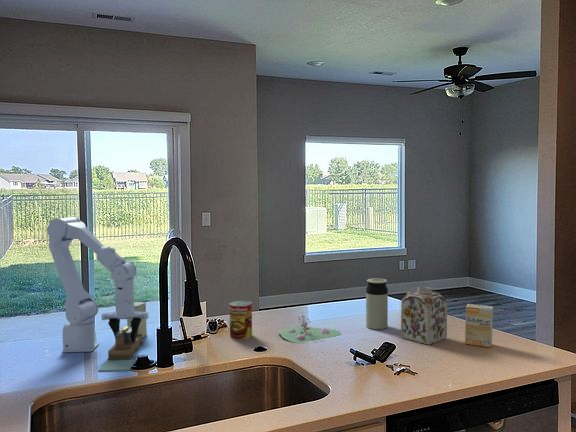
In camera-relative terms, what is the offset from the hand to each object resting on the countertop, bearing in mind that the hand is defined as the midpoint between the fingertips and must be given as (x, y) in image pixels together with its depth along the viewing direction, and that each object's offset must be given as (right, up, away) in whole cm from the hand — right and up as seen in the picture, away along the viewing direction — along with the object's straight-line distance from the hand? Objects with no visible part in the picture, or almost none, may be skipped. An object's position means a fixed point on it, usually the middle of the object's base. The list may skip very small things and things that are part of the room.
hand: (125, 340), depth 161 cm
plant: (+62, -3, +17) cm, 64 cm away
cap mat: (+2, -4, -13) cm, 14 cm away
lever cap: (0, 0, 0) cm, 0 cm away
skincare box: (-1, -3, +15) cm, 15 cm away
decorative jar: (+100, -2, +12) cm, 101 cm away
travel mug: (+87, -2, +26) cm, 90 cm away
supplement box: (+117, -3, +5) cm, 117 cm away
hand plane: (0, -3, 0) cm, 3 cm away
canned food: (+36, -3, +16) cm, 39 cm away
